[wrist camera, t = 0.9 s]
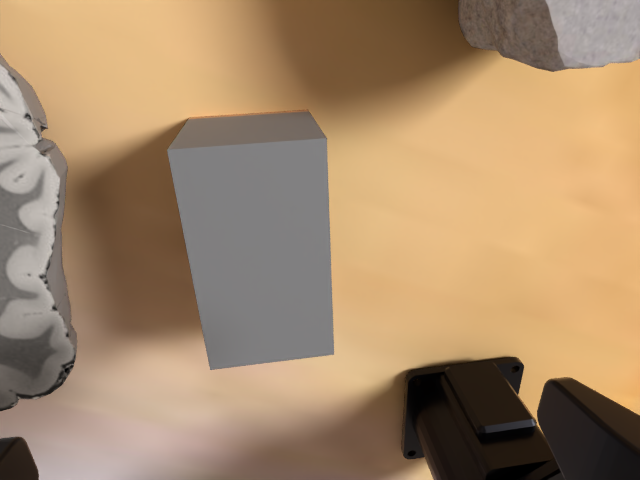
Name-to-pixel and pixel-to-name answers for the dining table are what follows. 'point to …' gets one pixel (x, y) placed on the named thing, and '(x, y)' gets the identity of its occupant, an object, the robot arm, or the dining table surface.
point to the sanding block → (257, 234)
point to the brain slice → (31, 250)
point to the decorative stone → (554, 31)
